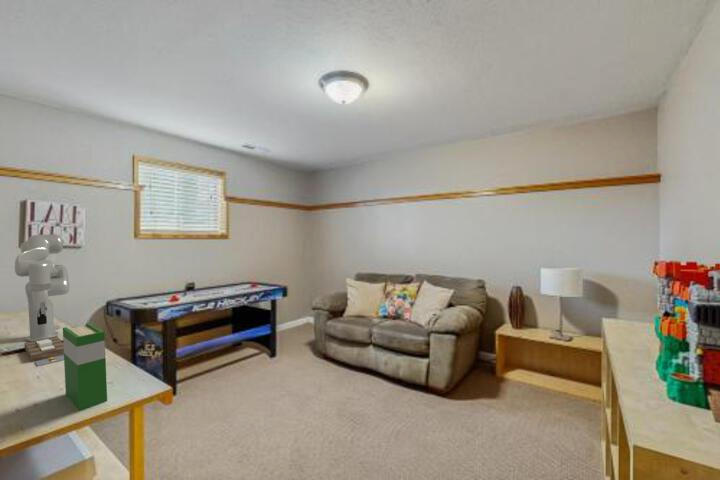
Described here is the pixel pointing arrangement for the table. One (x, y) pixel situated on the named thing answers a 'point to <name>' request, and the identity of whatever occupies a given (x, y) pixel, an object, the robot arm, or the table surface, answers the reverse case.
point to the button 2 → (47, 348)
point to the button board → (37, 354)
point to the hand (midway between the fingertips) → (42, 323)
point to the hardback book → (85, 365)
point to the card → (49, 360)
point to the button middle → (44, 343)
